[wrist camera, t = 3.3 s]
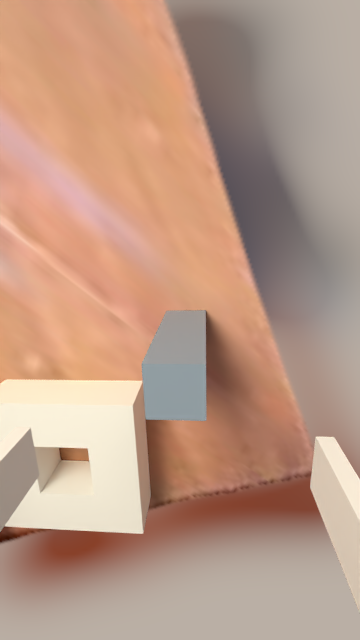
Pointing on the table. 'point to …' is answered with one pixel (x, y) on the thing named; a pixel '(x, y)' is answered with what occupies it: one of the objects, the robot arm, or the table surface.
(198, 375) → the peg
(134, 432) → the socket block
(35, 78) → the table surface
